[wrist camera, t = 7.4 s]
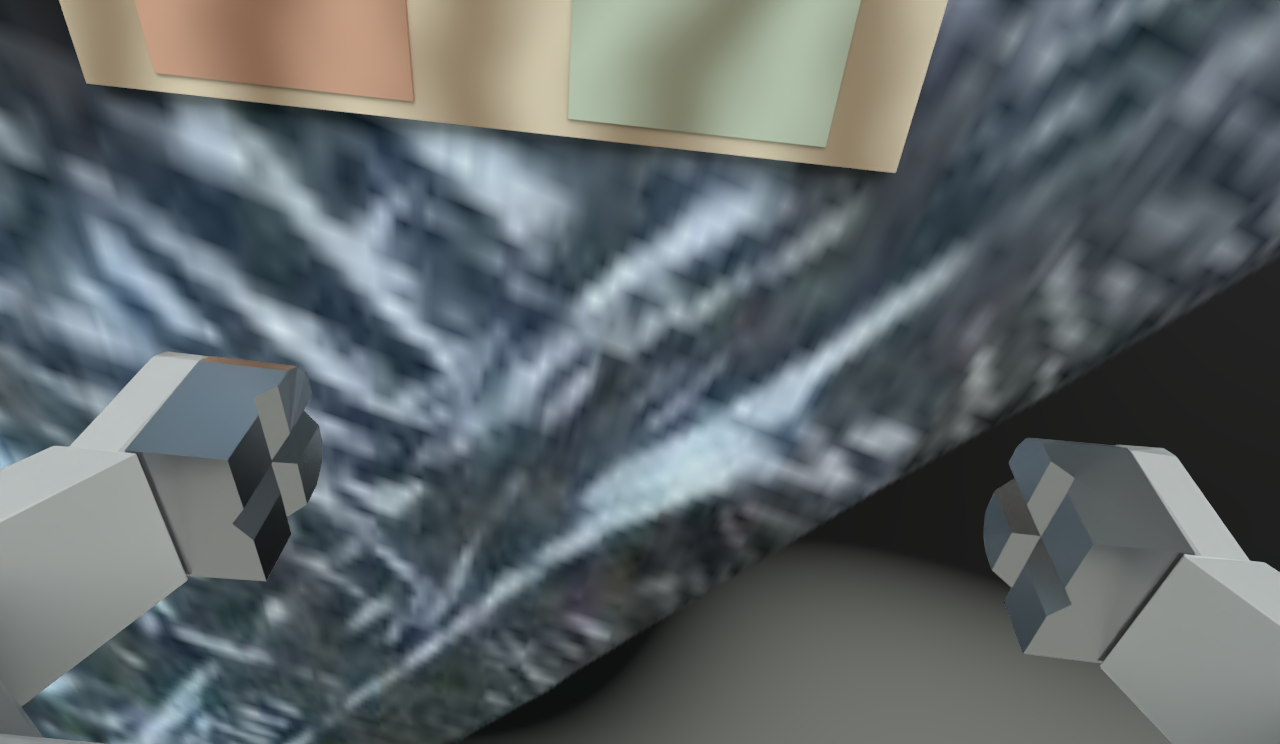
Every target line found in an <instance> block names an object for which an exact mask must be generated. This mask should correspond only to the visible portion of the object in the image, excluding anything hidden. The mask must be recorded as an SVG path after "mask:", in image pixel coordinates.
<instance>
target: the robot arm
mask: <svg viewBox="0 0 1280 744" xmlns="http://www.w3.org/2000/svg"><path fill="white" fill-rule="evenodd" d="M311 397H312V392H311V388H310V385H309V381H308V377H307V373H306V372H305V371H303V370H302V369H301V368H299V367H298V366H290V365H282V364H273V363H265V362H257V361H248V360H240V359H232V358H223V357H215V356H211V357H207V356H201V355H193V354H184V353H175V352H164V353H161V354H158V355H155V356H153V357H152V358H151V359H150V360H149V361H148V362H147V363H146V364H145V366H144V367H143V368H142V369H141V370H140V371H139V372H138V373H137V374H136V375H135V376H134V377H133V378H132V380H131V381H130V382H129V383H128V384H127V385H126V386H125V387H124V388H123V389H122V390H121V391H120V392H119V394H118V395H117V396H116V397H115V398H114V399H113V400H112V401H111V402H110V403H109V404H108V405H107V407H106V408H105V409H104V410H103V411H102V412H101V413H100V414H99V415H98V416H97V417H96V418H95V419H94V421H93V422H92V423H91V424H90V425H89V426H88V427H87V428H86V429H85V430H84V431H83V432H82V434H81V435H80V436H79V437H78V438H77V439H76V440H75V441H74V442H73V443H72V444H71V445H70V446H69V447H63V446H52V447H50V448H48V449H46V450H43V451H41V452H39V453H37V454H34V455H32V456H30V457H28V458H25V459H23V460H21V461H19V462H16V463H14V464H12V465H10V466H8V467H5V468H3V469H1V470H0V744H104V743H93V742H83V741H72V740H61V739H51V738H43V736H42V735H41V734H40V732H39V731H38V729H37V728H36V727H35V725H34V724H33V723H32V721H31V720H30V718H29V717H28V716H27V714H26V713H25V712H24V710H23V709H22V707H21V706H23V705H24V704H25V703H27V702H28V701H29V700H31V699H32V698H33V697H35V696H36V695H37V694H38V693H40V692H41V691H42V690H44V689H45V688H46V687H48V686H49V685H50V684H52V683H53V682H54V681H56V680H57V679H58V678H60V677H61V676H62V675H63V674H65V673H66V672H67V671H69V670H70V669H71V668H73V667H74V666H75V665H77V664H78V663H79V662H81V661H82V660H83V659H85V658H86V657H87V656H88V655H90V654H91V653H92V652H94V651H95V650H96V649H98V648H99V647H100V646H102V645H103V644H104V643H106V642H107V641H108V640H110V639H111V638H112V637H114V636H115V635H116V634H117V633H119V632H120V631H121V630H123V629H124V628H125V627H127V626H128V625H129V624H131V623H132V622H133V621H135V620H136V619H137V618H139V617H140V616H141V615H142V614H144V613H145V612H146V611H148V610H149V609H150V608H152V607H153V606H154V605H156V604H157V603H158V602H160V601H161V600H162V599H164V598H165V597H166V596H167V595H169V594H170V593H171V592H173V591H174V590H175V589H177V588H178V587H179V586H181V585H182V584H183V583H185V582H186V581H187V579H188V578H187V576H197V577H212V578H226V579H241V580H255V581H267V579H268V577H269V575H270V573H271V571H272V570H273V568H274V566H275V564H276V562H277V560H278V558H279V556H280V555H281V553H282V551H283V549H284V547H285V545H286V543H287V541H288V539H289V538H290V536H291V531H290V527H289V523H288V519H287V517H288V516H289V515H291V514H292V513H294V512H295V511H297V510H299V509H300V508H302V507H303V506H305V505H306V504H307V503H308V501H309V499H310V497H311V495H312V493H313V491H314V489H315V487H316V485H317V481H318V477H319V472H320V468H321V464H322V439H321V434H320V429H319V425H318V424H317V423H316V422H315V421H314V420H313V419H312V418H311V417H310V416H309V415H308V414H307V413H306V412H305V411H304V409H305V407H306V405H307V404H308V402H309V400H310V399H311ZM1009 465H1010V467H1011V470H1012V472H1013V474H1014V477H1015V479H1013V480H1012V481H1010V482H1008V483H1007V484H1005V485H1003V486H1002V487H1001V488H999V489H997V490H996V491H995V492H994V494H993V496H992V499H991V501H990V503H989V505H988V508H987V510H986V513H985V522H984V532H983V536H984V543H985V550H986V554H987V557H988V560H989V563H990V566H991V569H992V571H994V572H995V573H996V574H997V575H998V576H999V577H1000V578H1002V579H1003V580H1004V581H1005V582H1006V583H1007V584H1008V585H1010V587H1011V590H1010V592H1009V594H1008V596H1007V598H1006V600H1005V602H1004V604H1005V607H1006V609H1007V611H1008V615H1009V617H1010V620H1011V622H1012V625H1013V628H1014V630H1015V633H1016V636H1017V638H1018V641H1019V644H1020V646H1021V649H1022V652H1023V654H1030V655H1038V656H1046V657H1054V658H1063V659H1070V660H1079V661H1087V662H1096V663H1102V664H1101V666H1100V668H1101V669H1102V670H1103V671H1104V672H1105V673H1106V674H1107V675H1108V676H1109V677H1110V678H1111V679H1112V680H1113V681H1114V682H1115V683H1116V684H1117V685H1118V687H1119V688H1120V689H1121V690H1122V691H1123V692H1124V693H1125V694H1126V695H1127V696H1128V697H1129V698H1130V699H1131V700H1132V701H1133V703H1134V704H1135V705H1136V706H1137V707H1138V708H1139V709H1140V710H1141V711H1142V712H1143V713H1144V714H1145V715H1146V716H1147V717H1148V718H1149V720H1151V722H1152V723H1153V724H1154V725H1155V726H1156V727H1157V728H1158V729H1159V730H1160V731H1161V732H1162V733H1163V734H1164V735H1165V736H1166V738H1167V739H1168V740H1169V741H1170V742H1171V743H1172V744H1280V572H1278V571H1277V570H1275V569H1274V568H1272V567H1271V566H1269V565H1268V564H1266V563H1264V562H1255V561H1250V560H1249V559H1248V558H1247V556H1246V555H1245V553H1244V552H1243V550H1242V549H1241V548H1240V546H1239V545H1238V543H1237V542H1236V540H1235V539H1234V538H1233V536H1232V535H1231V533H1230V532H1229V531H1228V529H1227V528H1226V526H1225V525H1224V523H1223V522H1222V521H1221V519H1220V518H1219V516H1218V515H1217V513H1216V512H1215V511H1214V509H1213V508H1212V506H1211V505H1210V504H1209V502H1208V501H1207V499H1206V498H1205V497H1204V495H1203V494H1202V492H1201V491H1200V490H1199V488H1198V487H1197V485H1196V484H1195V482H1194V481H1193V480H1192V478H1191V477H1190V475H1189V474H1188V472H1187V471H1186V469H1185V468H1184V467H1183V465H1182V464H1181V462H1180V461H1179V460H1178V458H1177V457H1176V456H1175V455H1173V454H1172V453H1170V452H1169V451H1167V450H1166V449H1164V448H1153V447H1140V446H1126V445H1116V446H1111V445H1101V444H1091V443H1080V442H1068V441H1058V440H1047V439H1036V438H1026V439H1025V440H1024V441H1023V442H1022V443H1021V444H1020V445H1019V446H1018V447H1017V448H1016V450H1015V452H1014V454H1013V456H1012V458H1011V460H1010V461H1009Z"/></svg>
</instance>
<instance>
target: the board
mask: <svg viewBox="0 0 1280 744" xmlns="http://www.w3.org/2000/svg"><path fill="white" fill-rule="evenodd" d="M59 2H60V5H61V8H62V11H63V14H64V17H65V20H66V23H67V26H68V29H69V32H70V35H71V38H72V41H73V44H74V47H75V50H76V53H77V56H78V59H79V62H80V65H81V68H82V71H83V74H84V77H85V81H86V83H87V84H96V85H105V86H114V87H123V88H132V89H141V90H150V91H159V92H168V93H177V94H186V95H195V96H204V97H213V98H222V99H231V100H240V101H249V102H258V103H267V104H276V105H286V106H295V107H304V108H313V109H322V110H331V111H340V112H349V113H358V114H367V115H376V116H385V117H394V118H403V119H412V120H421V121H430V122H439V123H448V124H457V125H466V126H475V127H484V128H493V129H502V130H511V131H520V132H529V133H538V134H547V135H556V136H565V137H574V138H583V139H592V140H601V141H610V142H620V143H629V144H638V145H647V146H656V147H665V148H674V149H683V150H692V151H701V152H710V153H719V154H728V155H737V156H746V157H755V158H764V159H773V160H782V161H791V162H800V163H809V164H818V165H827V166H836V167H845V168H854V169H863V170H872V171H881V172H890V173H896V171H897V167H898V164H899V161H900V157H901V154H902V151H903V147H904V144H905V141H906V138H907V134H908V131H909V128H910V124H911V121H912V118H913V114H914V111H915V108H916V105H917V101H918V98H919V95H920V91H921V88H922V85H923V81H924V78H925V75H926V72H927V68H928V65H929V62H930V58H931V55H932V52H933V48H934V45H935V42H936V39H937V35H938V32H939V29H940V25H941V22H942V19H943V15H944V12H945V9H946V6H947V2H948V0H59Z"/></svg>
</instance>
